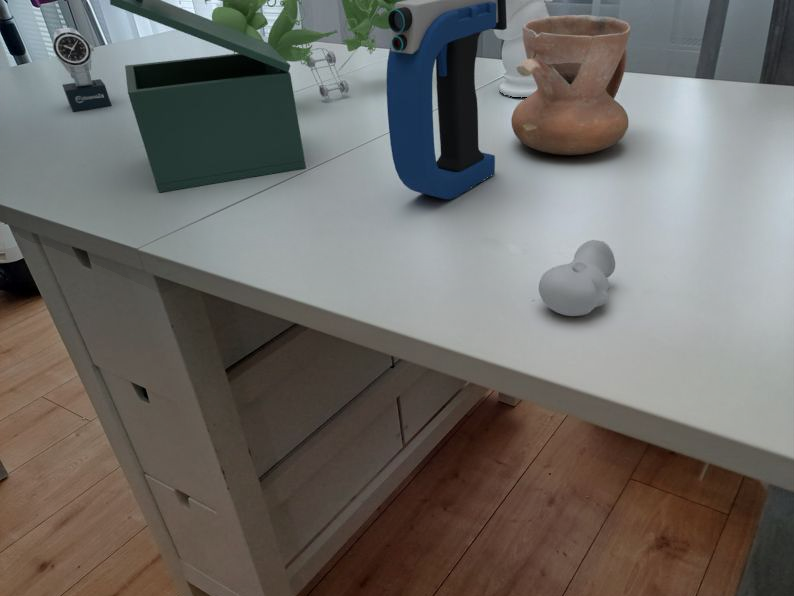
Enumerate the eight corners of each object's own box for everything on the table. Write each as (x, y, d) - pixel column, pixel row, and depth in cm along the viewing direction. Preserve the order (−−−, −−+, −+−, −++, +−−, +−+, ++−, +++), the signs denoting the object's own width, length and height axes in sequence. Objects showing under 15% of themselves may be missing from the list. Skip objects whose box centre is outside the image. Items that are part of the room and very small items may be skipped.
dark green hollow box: (158, 192, 74) (127, 92, 68) (152, 156, 84) (124, 65, 78) (306, 168, 80) (290, 73, 73) (284, 136, 90) (268, 50, 83)
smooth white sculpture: (573, 341, 51) (522, 304, 53) (624, 297, 56) (576, 264, 58) (591, 302, 48) (537, 264, 50) (644, 259, 53) (593, 225, 55)
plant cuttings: (217, 154, 104) (248, 87, 85) (169, 52, 103) (189, -40, 84) (398, 109, 122) (456, 45, 103) (359, 21, 121) (411, -60, 102)
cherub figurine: (568, 88, 106) (579, -73, 93) (538, 109, 97) (546, -66, 84) (500, 81, 111) (501, -74, 98) (465, 100, 102) (462, -68, 89)
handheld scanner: (509, 168, 78) (510, -21, 67) (428, 217, 68) (412, 3, 56) (477, 161, 80) (472, -22, 69) (394, 208, 70) (371, 0, 58)
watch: (74, 114, 100) (46, 35, 93) (68, 102, 105) (40, 27, 99) (114, 108, 102) (89, 30, 96) (105, 96, 108) (81, 22, 101)
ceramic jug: (560, 178, 76) (570, 44, 67) (480, 146, 85) (479, 24, 77) (660, 143, 85) (679, 21, 76) (578, 117, 94) (587, 6, 85)
